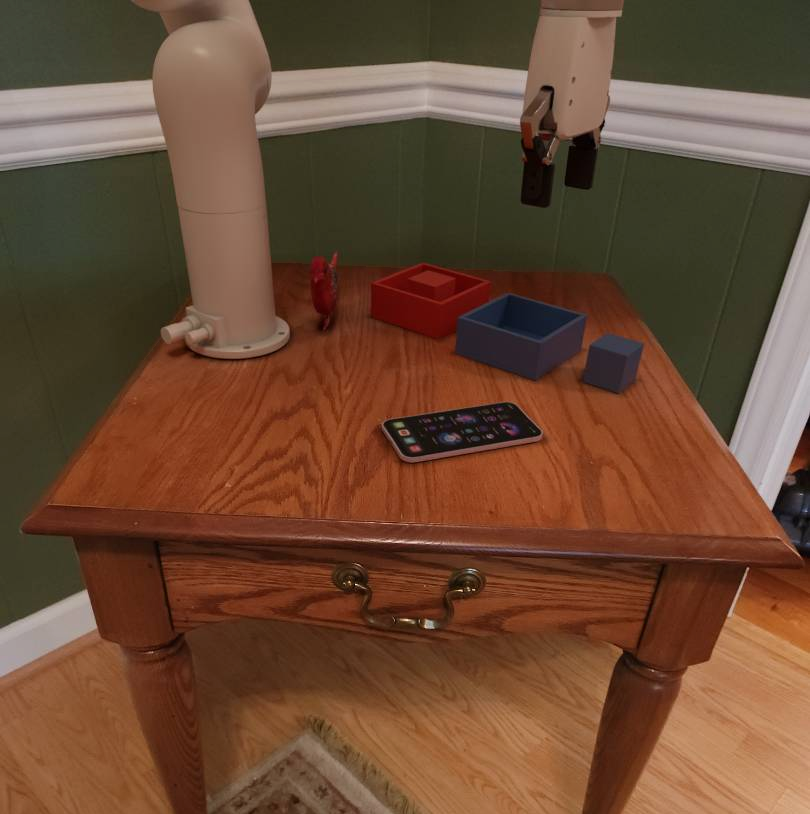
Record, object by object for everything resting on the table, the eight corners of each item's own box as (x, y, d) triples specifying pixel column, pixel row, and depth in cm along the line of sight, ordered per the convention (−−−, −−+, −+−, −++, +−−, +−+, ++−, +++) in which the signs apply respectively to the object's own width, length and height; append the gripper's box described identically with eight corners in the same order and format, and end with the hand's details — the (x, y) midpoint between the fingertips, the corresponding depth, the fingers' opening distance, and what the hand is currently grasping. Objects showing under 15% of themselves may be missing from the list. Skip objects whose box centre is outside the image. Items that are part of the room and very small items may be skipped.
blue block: (618, 394, 81) (627, 355, 78) (582, 381, 83) (589, 344, 80) (635, 380, 83) (644, 343, 81) (599, 369, 86) (607, 332, 83)
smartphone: (378, 420, 73) (512, 400, 77) (378, 425, 73) (512, 405, 77) (404, 459, 67) (547, 435, 72) (404, 464, 68) (546, 440, 72)
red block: (433, 321, 94) (435, 286, 91) (406, 312, 96) (407, 278, 94) (453, 311, 97) (455, 277, 94) (426, 303, 99) (428, 270, 96)
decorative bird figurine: (306, 346, 88) (301, 262, 82) (327, 295, 102) (325, 219, 96) (330, 348, 88) (327, 264, 82) (348, 296, 102) (346, 220, 96)
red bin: (439, 339, 91) (441, 304, 88) (370, 316, 96) (370, 282, 93) (487, 314, 98) (491, 281, 95) (421, 294, 103) (422, 262, 100)
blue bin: (535, 381, 83) (541, 343, 80) (454, 353, 88) (457, 317, 85) (581, 350, 90) (587, 314, 87) (503, 326, 95) (507, 292, 92)
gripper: (586, -7, 74) (562, 177, 85) (499, -3, 63) (484, 207, 74) (657, -4, 71) (623, 186, 81) (577, 0, 60) (550, 219, 71)
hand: (557, 196), depth 78 cm, fingers open, 9 cm apart
